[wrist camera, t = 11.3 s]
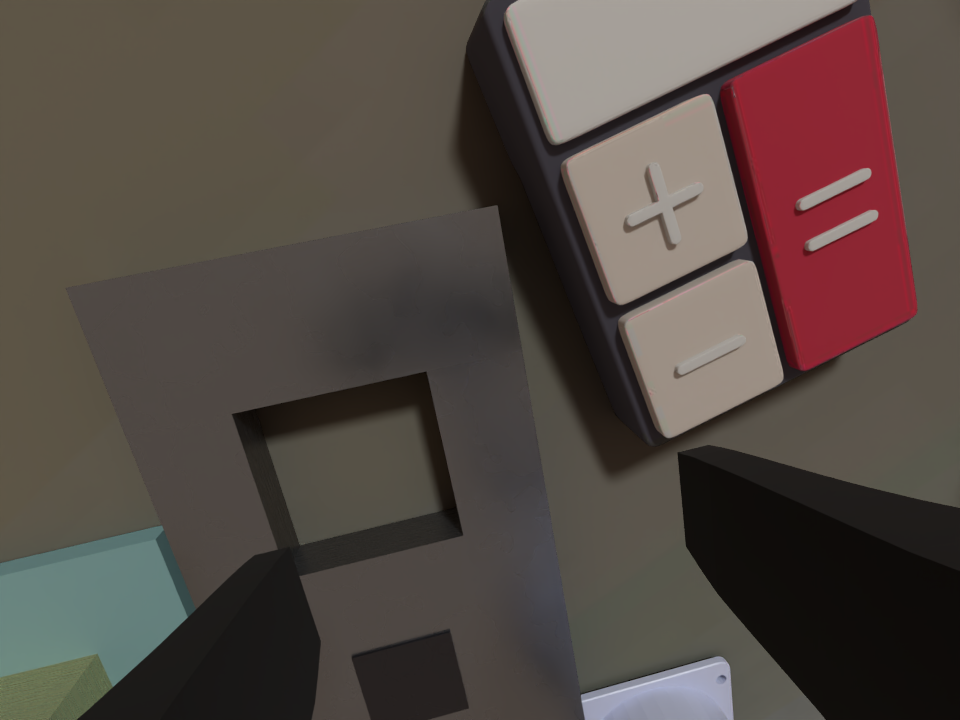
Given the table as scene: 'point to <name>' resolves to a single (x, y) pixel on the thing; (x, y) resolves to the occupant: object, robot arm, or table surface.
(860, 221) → the calculator
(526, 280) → the table surface
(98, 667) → the wooden block
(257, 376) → the grey square-hole board
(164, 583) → the pad
